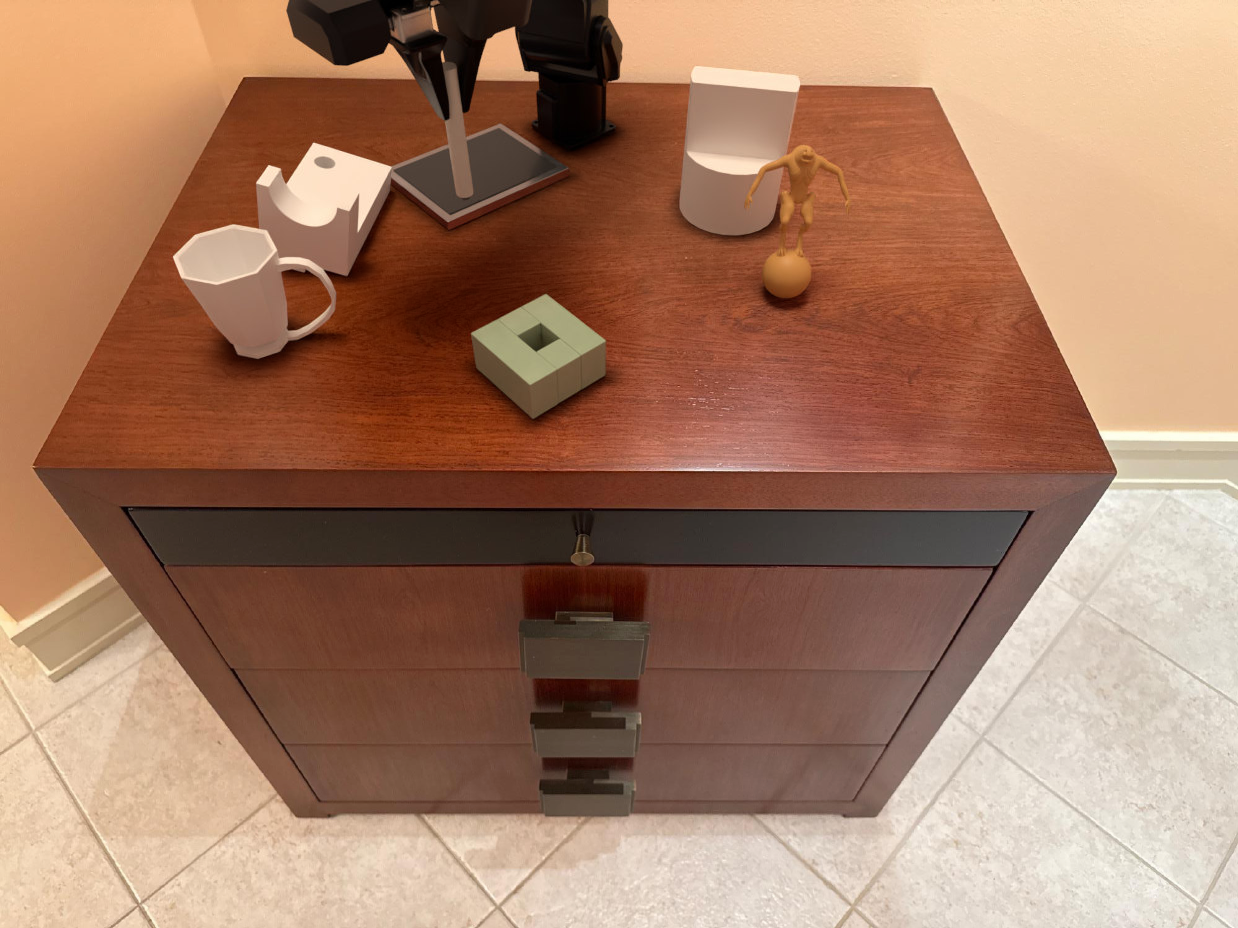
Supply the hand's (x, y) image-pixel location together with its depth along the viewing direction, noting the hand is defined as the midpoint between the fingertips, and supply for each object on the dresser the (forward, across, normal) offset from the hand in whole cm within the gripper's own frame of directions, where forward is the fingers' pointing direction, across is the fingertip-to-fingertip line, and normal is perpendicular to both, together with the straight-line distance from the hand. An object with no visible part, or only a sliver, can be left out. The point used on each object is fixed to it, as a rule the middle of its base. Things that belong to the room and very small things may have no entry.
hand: (453, 114), depth 60 cm
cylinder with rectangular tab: (+13, +22, -9) cm, 28 cm away
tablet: (+13, +8, +10) cm, 18 cm away
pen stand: (+13, -5, -15) cm, 20 cm away
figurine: (+13, +17, -20) cm, 30 cm away
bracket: (+13, -7, +11) cm, 18 cm away
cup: (+13, -18, +1) cm, 22 cm away
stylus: (+7, 0, 0) cm, 7 cm away
